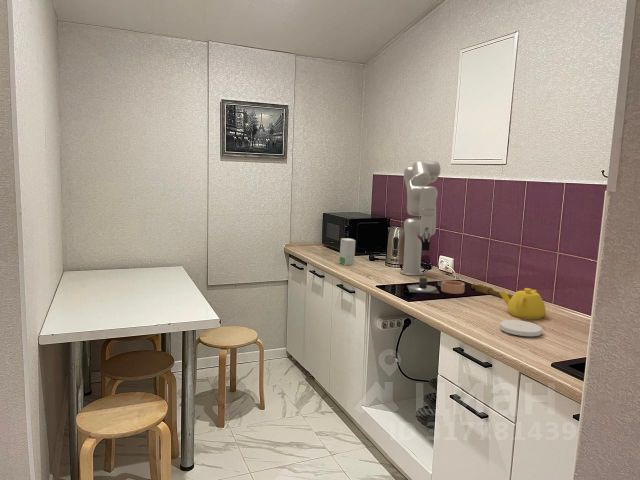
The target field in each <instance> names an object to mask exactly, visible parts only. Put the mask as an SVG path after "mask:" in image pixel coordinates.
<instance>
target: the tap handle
mask: <svg viewBox="0 0 640 480" xmlns="http://www.w3.org/2000/svg"><path fill="white" fill-rule="evenodd" d="M470 287H471V289H472V290H474V291H475V292H478V293H481V292H482V294H485V293H486V294H485V295H491V296H495V297H498V298H501V299H503V298H502V296H501V295H500V292H501V291H498V290H495V289H493V287H490V286H487V285H483V284H476V283H472V284H471V286H470ZM506 294H507V295H508V297H509V298H510V299H511V298H512V296H513V295H514V294H509V293H506Z"/></svg>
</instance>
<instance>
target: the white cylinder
mask: <svg viewBox="0 0 640 480" xmlns="http://www.w3.org/2000/svg"><path fill="white" fill-rule="evenodd" d="M356 241H357V240H355V239H354V238H349V237H347V238H344V237H343V238H340V245H339V246H340V247H339V260H338V261H339V262H340V263H339V264H341V263H342V264H341V265H343V264H344V265H343V266H345V265H346V266H354V265H355V254H356V244H357V243H356ZM353 264H354V265H353Z"/></svg>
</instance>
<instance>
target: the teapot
mask: <svg viewBox="0 0 640 480" xmlns="http://www.w3.org/2000/svg"><path fill="white" fill-rule="evenodd" d="M523 289H524V290H517V291H516V292H515V293H513V294H512V295H513V296H512V298H511V299H510V298H509V297H508V295H507V294H508V293H507V292H506V291H505V290H502V291H499V292H500V295H501V296H502V298H501V299H503V301H504V303H505V304H506V306H507V311H508V313H509V314H510V315H511V316H514V317H516V318H519V319H524V320H540V319H541V318H543V317H544V316H546V312H547V311H546V305H545V302H544V300H543V298H542V297H541V295H540V294H539V293H538V292H537V289H532V288H530V287H529V288H528V287H525V288H523Z"/></svg>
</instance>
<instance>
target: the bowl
mask: <svg viewBox="0 0 640 480" xmlns="http://www.w3.org/2000/svg"><path fill="white" fill-rule="evenodd" d="M440 285H441V287H440V290H441V292H443V293H446V294H451V295H452V294H454V295H459V294H464V293H465V286H466V284H465V282H462V281H458V280H443V281H441V284H440Z"/></svg>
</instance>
